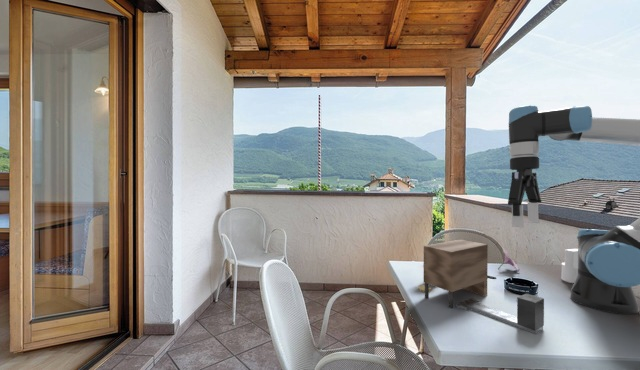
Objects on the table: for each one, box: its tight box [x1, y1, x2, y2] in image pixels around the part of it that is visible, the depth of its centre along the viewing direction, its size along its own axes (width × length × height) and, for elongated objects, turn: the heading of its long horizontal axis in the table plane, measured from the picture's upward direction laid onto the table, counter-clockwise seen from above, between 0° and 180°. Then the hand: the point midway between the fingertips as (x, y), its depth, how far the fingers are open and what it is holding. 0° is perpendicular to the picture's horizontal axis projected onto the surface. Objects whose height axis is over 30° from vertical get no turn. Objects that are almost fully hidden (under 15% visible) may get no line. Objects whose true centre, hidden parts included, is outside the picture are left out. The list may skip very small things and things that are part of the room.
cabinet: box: [423, 239, 489, 309], centre depth 96 cm, size 10×20×17 cm, turn 122°
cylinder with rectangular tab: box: [561, 248, 578, 284], centre depth 111 cm, size 9×9×12 cm
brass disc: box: [418, 284, 432, 293], centre depth 102 cm, size 4×4×1 cm
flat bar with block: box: [456, 293, 545, 335], centre depth 82 cm, size 20×8×8 cm, turn 32°
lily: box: [497, 247, 520, 274], centre depth 124 cm, size 12×12×10 cm
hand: (525, 224), depth 91 cm, fingers open, 13 cm apart
